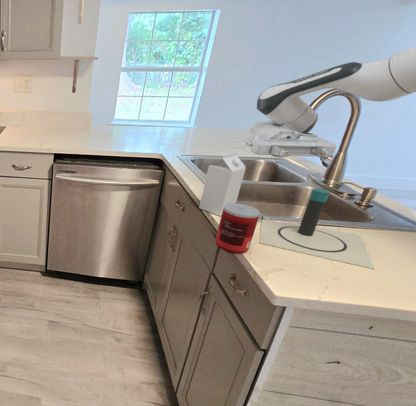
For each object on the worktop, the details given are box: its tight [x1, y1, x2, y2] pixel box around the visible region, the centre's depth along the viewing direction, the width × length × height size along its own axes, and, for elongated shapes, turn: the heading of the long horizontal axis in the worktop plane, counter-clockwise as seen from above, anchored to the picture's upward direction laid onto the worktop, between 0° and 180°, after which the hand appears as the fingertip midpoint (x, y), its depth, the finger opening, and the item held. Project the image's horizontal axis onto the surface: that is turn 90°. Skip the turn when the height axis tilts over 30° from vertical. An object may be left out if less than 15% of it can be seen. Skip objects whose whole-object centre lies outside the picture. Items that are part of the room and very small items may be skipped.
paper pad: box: [259, 217, 376, 270], centre depth 99 cm, size 22×20×1 cm
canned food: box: [214, 202, 261, 254], centre depth 95 cm, size 8×8×11 cm
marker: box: [298, 187, 331, 236], centre depth 99 cm, size 3×3×13 cm
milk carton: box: [198, 151, 247, 217], centre depth 114 cm, size 7×7×19 cm
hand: (305, 154), depth 104 cm, fingers open, 8 cm apart
